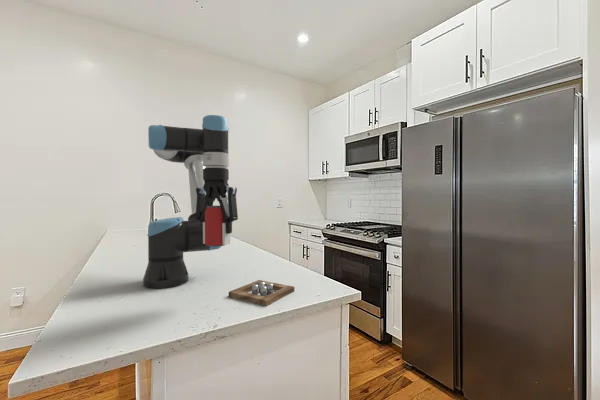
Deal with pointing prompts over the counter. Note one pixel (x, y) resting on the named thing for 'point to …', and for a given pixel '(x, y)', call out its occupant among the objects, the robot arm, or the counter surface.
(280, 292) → the face frame
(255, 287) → the peg stand
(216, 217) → the beer can
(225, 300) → the counter surface
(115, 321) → the counter surface
